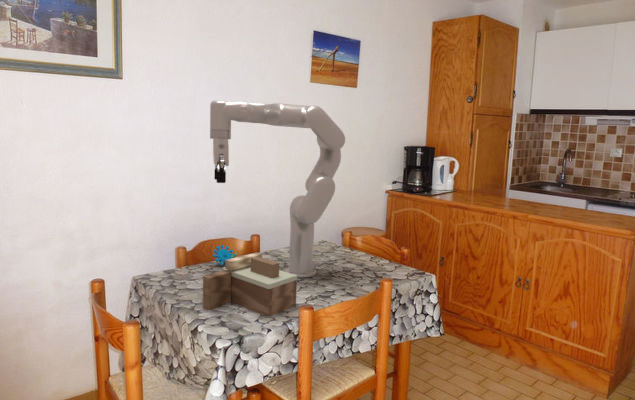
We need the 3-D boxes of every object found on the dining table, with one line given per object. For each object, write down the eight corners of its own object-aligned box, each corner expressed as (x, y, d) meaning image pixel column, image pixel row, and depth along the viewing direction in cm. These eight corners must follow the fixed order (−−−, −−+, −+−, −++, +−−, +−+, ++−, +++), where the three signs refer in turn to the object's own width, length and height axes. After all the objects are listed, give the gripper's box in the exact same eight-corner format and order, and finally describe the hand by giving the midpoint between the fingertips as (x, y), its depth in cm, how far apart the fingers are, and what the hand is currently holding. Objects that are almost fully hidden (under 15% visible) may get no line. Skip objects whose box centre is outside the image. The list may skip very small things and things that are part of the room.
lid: (250, 265, 169) (251, 248, 168) (296, 279, 156) (297, 262, 155) (222, 272, 159) (222, 255, 158) (268, 289, 146) (269, 270, 145)
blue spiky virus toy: (216, 264, 193) (211, 243, 198) (210, 271, 196) (206, 251, 201) (240, 264, 199) (235, 244, 204) (234, 271, 203) (230, 251, 208)
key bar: (255, 260, 168) (256, 252, 168) (261, 262, 166) (262, 254, 166) (225, 268, 157) (225, 260, 157) (231, 270, 155) (231, 262, 155)
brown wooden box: (250, 289, 171) (251, 261, 169) (295, 305, 157) (297, 275, 155) (199, 305, 153) (199, 274, 152) (245, 326, 140) (245, 292, 138)
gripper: (233, 136, 167) (232, 184, 170) (228, 134, 183) (227, 178, 186) (211, 135, 165) (211, 184, 167) (208, 133, 181) (208, 178, 184)
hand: (219, 181), depth 177 cm, fingers open, 9 cm apart
